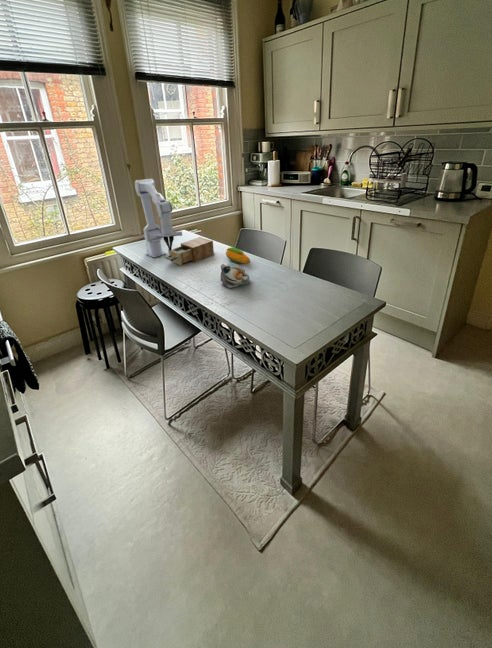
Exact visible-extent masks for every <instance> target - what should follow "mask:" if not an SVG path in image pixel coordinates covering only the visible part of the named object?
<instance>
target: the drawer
mask: <svg viewBox="0 0 492 648" xmlns="http://www.w3.org/2000/svg"><path fill="white" fill-rule="evenodd" d="M179 250H185V251H184V252H182V256H181V253H179V252H176V251H179ZM167 251H168V253H167V254H168V255H166V256H164V259H165V260H168V261H169V262H171V263H174V264H175V265H179V266H183V264H184V263H188V262H190V261H191V260H193V259H194V257H193V249H192V248H189V247H186V246H181V245H180V246H178V247H177V246H176V247H175V248H172V250H169V249H168V250H167ZM191 262H192V261H191Z"/></svg>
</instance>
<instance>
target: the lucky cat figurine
mask: <svg viewBox="0 0 492 648" xmlns="http://www.w3.org/2000/svg"><path fill="white" fill-rule="evenodd" d="M220 269H221V272H220V282H221V283H222V285H223V286H224V287H227V288H229V289H232V288H236V287H239V286H243V285H247V284H249V283H250V276H249V274H248V273H247V272H246V269H245V268H244V267H242V266H241V263H240V264H239V263H228V264H227V265H226V264H225V263H222V264H221V265H220Z"/></svg>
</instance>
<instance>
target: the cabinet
mask: <svg viewBox="0 0 492 648" xmlns="http://www.w3.org/2000/svg"><path fill="white" fill-rule="evenodd" d="M180 246H186V247H189V248H192V249H193V257H194V259H193V260H191V262H193V263H196V262H200V261H202V260H204V259H206V258H209V257H212V256H215V253H214V241H213V240H212V239H208V238H205V237H201V236H199V237H197V238H193V239H190V240H187V241H185V242H181V243H180Z"/></svg>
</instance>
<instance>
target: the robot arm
mask: <svg viewBox="0 0 492 648" xmlns="http://www.w3.org/2000/svg"><path fill="white" fill-rule="evenodd" d="M134 189H135V193H136V195H137V196H138V197H139V198H140V201H141V205H142V209H143V214H144V218H145V222H146V226H145V227H143V229H142V230H143V238H144V240H145V247H146V253H145V255H147V256H149V257H151V258H154V259H155V258H157V257H158V258H159V257H160V256H163V255H166V252H163V248H162V239H163V240H164V243H165V244H166V246H167V249H168V250H173V242H174V240H175V237H179V236H180V237H182V236H183V231H179V230H178V231H174V226H173V219H172V212H173V205H172V203H171V201H170V200H167V199H165V197H164V196H163V195H162V194H161V193H160V192H158V191H157V189H156V182H155V180H154V179H153V178H145V179H136V180H135V181H134ZM150 197H151V198H150ZM151 201H152V202H151ZM152 203H153V204H154V206H155V207H156V211H157V214H158V218H160V219H159V220H160V221H159V222H160V225H159V224H158V223H156V220H155V217H154V216H155V215H154V211H153V207H152Z"/></svg>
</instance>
